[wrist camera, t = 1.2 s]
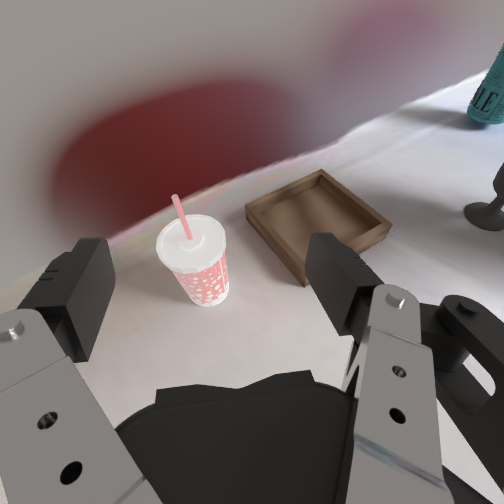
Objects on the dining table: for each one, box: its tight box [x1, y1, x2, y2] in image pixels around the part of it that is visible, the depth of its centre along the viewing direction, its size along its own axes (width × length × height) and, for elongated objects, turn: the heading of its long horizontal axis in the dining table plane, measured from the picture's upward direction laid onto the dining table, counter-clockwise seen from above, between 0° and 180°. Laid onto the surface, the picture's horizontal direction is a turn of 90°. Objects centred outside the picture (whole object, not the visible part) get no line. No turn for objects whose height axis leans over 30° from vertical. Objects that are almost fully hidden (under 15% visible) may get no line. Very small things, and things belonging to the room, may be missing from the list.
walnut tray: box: [245, 169, 392, 287], centre depth 35 cm, size 13×13×3 cm
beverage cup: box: [156, 194, 229, 307], centre depth 25 cm, size 6×6×14 cm
